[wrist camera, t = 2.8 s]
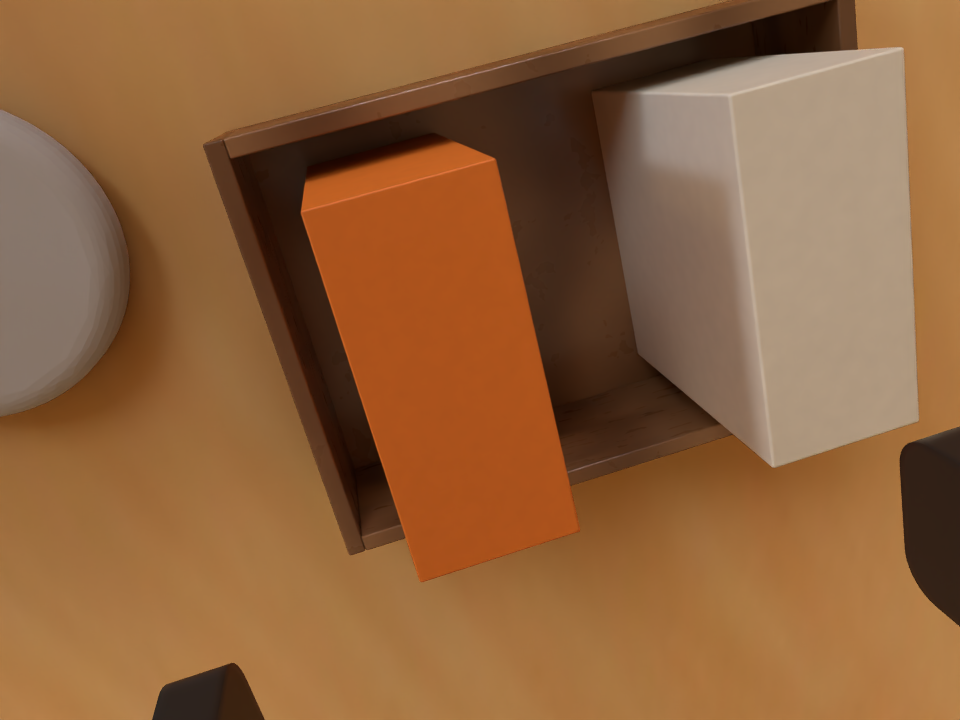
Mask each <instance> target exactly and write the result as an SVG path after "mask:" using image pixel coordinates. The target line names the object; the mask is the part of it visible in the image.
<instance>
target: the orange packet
mask: <svg viewBox="0 0 960 720" xmlns="http://www.w3.org/2000/svg"><path fill="white" fill-rule="evenodd" d="M301 216H302V219H303V222H304V225H305V228H306V231H307V234H308V237H309V240H310V243H311V247H312V250H313V253H314V256H315V259H316V262H317V265H318V268H319V271H320V274H321V277H322V281H323V284H324V287H325V290H326V293H327V296H328V299H329V302H330V305H331V308H332V311H333V315H334V318H335V321H336V324H337V327H338V330H339V333H340V336H341V339H342V342H343V345H344V349H345V352H346V355H347V358H348V361H349V364H350V367H351V370H352V373H353V376H354V380H355V383H356V386H357V389H358V392H359V395H360V398H361V401H362V404H363V407H364V410H365V414H366V417H367V420H368V423H369V426H370V429H371V432H372V435H373V438H374V441H375V444H376V448H377V451H378V454H379V457H380V460H381V463H382V466H383V469H384V472H385V475H386V479H387V482H388V485H389V488H390V491H391V494H392V497H393V500H394V503H395V506H396V509H397V513H398V516H399V519H400V522H401V525H402V528H403V531H404V534H405V537H406V540H407V543H408V547H409V550H410V553H411V556H412V559H413V562H414V565H415V568H416V571H417V574H418V577H419V581H420V582H424V581H427V580H430V579H434V578H437V577H440V576H443V575H446V574H449V573H452V572H455V571H458V570H461V569H465V568H468V567H471V566H474V565H477V564H480V563H483V562H486V561H489V560H492V559H496V558H499V557H502V556H505V555H508V554H511V553H514V552H517V551H520V550H523V549H527V548H530V547H533V546H536V545H539V544H542V543H545V542H548V541H551V540H554V539H558V538H561V537H564V536H567V535H570V534H573V533H576V532H579V531H580V527H579V522H578V518H577V513H576V509H575V505H574V500H573V496H572V491H571V487H570V483H569V478H568V474H567V469H566V465H565V461H564V456H563V452H562V447H561V443H560V439H559V434H558V430H557V425H556V421H555V417H554V412H553V408H552V403H551V399H550V395H549V390H548V386H547V381H546V377H545V372H544V368H543V364H542V359H541V355H540V350H539V346H538V342H537V337H536V333H535V328H534V324H533V320H532V315H531V311H530V306H529V302H528V298H527V293H526V289H525V284H524V280H523V276H522V271H521V267H520V262H519V258H518V254H517V249H516V245H515V240H514V236H513V232H512V227H511V223H510V218H509V214H508V210H507V205H506V201H505V196H504V192H503V188H502V183H501V179H500V174H499V170H498V166H497V161H496V159H495V158H493V157H491V156H488V155H486V154H483V153H481V152H479V151H476V150H474V149H472V148H469V147H467V146H465V145H462V144H460V143H457V142H455V141H453V140H450V139H448V138H446V137H443V136H441V135H439V134H436V133H431V134H427V135H423V136H419V137H416V138H412V139H408V140H405V141H401V142H397V143H393V144H390V145H386V146H382V147H378V148H375V149H371V150H367V151H363V152H360V153H356V154H352V155H348V156H345V157H341V158H337V159H334V160H330V161H326V162H322V163H319V164H315V165H311V166H308V167H307V171H306V178H305V186H304V193H303V200H302V208H301Z"/></svg>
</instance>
